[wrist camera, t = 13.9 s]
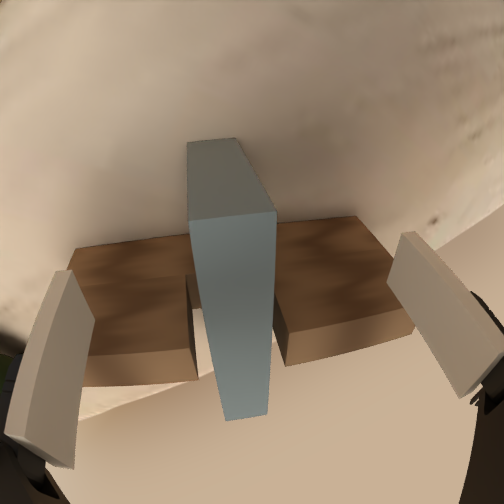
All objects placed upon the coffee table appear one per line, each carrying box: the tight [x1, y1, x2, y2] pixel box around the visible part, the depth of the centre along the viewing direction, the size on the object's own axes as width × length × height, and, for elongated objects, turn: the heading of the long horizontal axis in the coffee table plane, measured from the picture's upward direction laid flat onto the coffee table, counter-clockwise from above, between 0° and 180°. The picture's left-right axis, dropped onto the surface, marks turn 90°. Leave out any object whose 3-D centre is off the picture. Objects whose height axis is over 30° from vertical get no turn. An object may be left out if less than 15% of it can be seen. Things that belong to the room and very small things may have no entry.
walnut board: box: [67, 216, 415, 387], centre depth 19 cm, size 22×3×10 cm, turn 91°
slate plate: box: [187, 138, 277, 421], centre depth 19 cm, size 16×3×10 cm, turn 1°
